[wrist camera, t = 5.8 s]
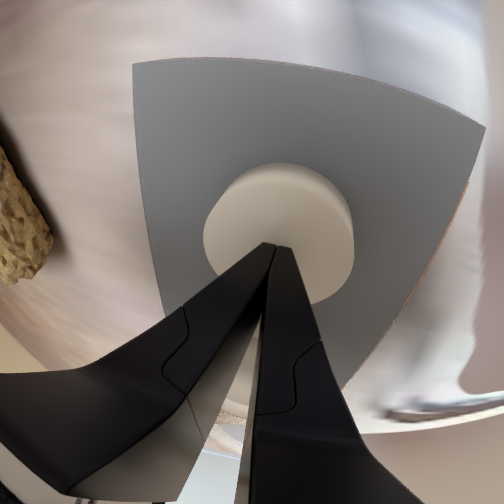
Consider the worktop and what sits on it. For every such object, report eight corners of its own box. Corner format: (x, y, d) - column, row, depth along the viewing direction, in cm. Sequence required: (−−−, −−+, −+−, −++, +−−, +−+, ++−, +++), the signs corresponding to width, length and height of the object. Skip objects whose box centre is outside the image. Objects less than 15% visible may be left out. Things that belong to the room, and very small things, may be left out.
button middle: (299, 352, 16) (287, 414, 13) (227, 335, 16) (204, 393, 13) (318, 305, 13) (308, 381, 10) (228, 284, 14) (198, 354, 11)
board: (317, 394, 23) (312, 423, 21) (198, 365, 25) (187, 392, 23) (455, 110, 8) (492, 130, 5) (175, 58, 9) (132, 64, 7)
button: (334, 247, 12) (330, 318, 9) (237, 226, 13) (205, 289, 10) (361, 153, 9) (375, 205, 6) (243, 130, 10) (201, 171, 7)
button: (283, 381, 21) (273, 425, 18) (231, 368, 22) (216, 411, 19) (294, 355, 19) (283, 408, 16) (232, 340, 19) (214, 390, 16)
